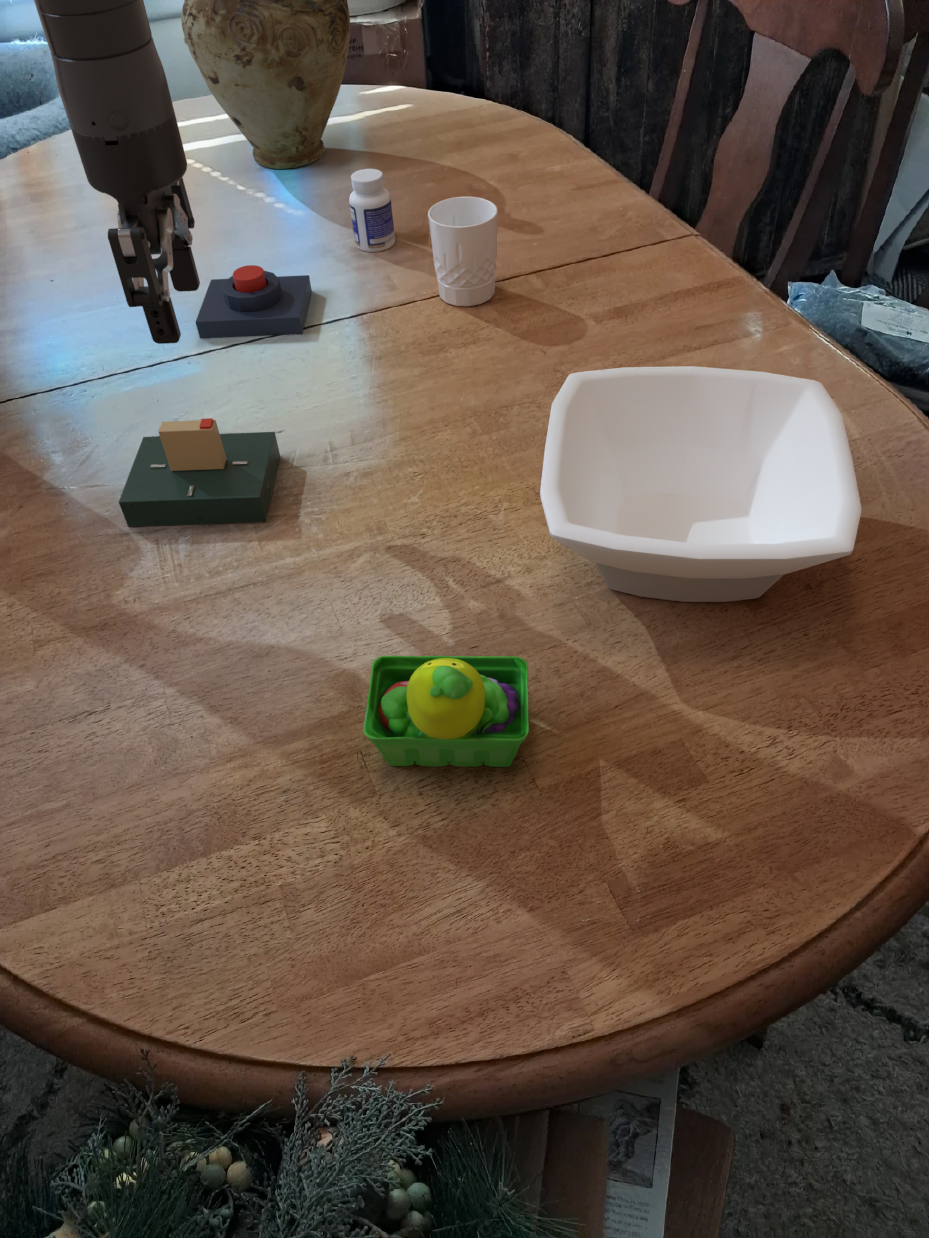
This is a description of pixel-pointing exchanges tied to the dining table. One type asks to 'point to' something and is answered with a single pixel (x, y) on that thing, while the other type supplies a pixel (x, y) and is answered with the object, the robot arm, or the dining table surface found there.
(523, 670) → the fruit basket
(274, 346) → the dining table surface
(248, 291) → the button
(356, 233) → the pill bottle
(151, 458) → the panel
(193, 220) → the robot arm
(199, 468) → the knob
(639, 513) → the bowl
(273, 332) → the button box
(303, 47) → the vase
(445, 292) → the white cup
